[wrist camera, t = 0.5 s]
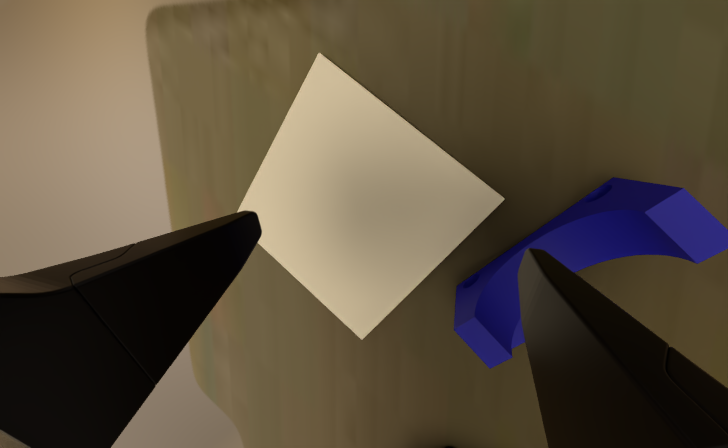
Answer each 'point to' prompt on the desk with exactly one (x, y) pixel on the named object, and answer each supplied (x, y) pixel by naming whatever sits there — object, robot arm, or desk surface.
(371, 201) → the desk mat
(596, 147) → the desk surface
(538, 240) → the cable clip
